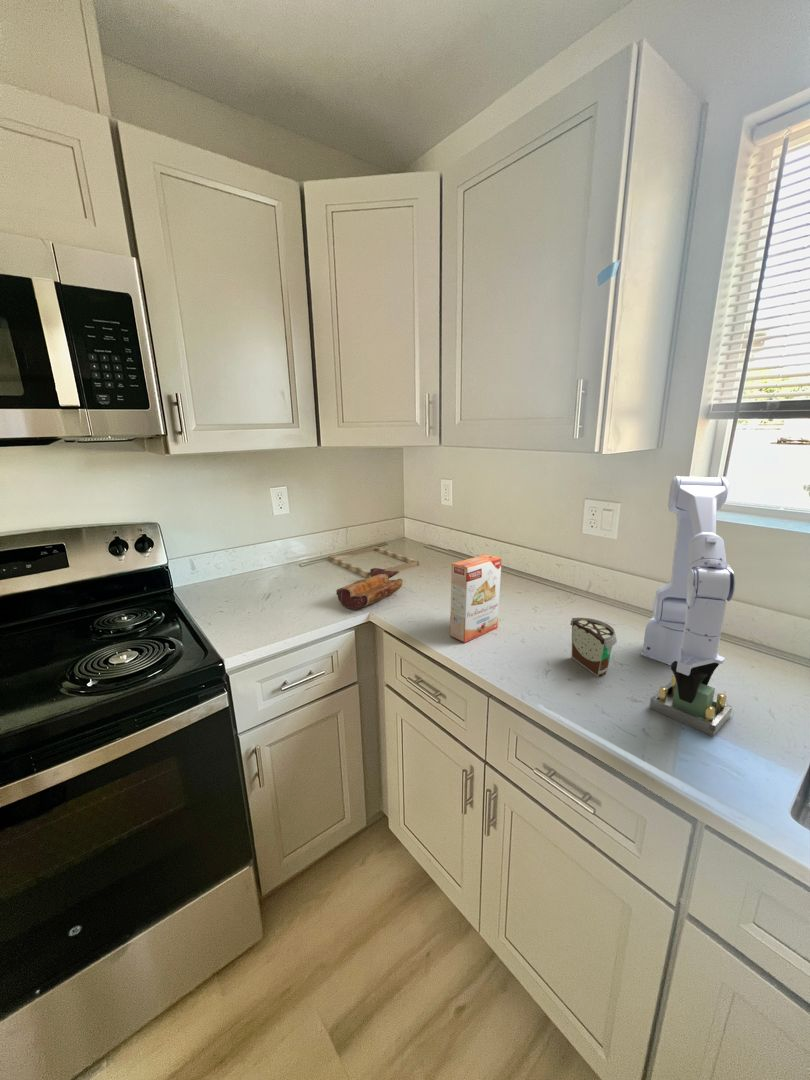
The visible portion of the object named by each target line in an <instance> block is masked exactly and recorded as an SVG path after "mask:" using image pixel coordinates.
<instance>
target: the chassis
mask: <svg viewBox="0 0 810 1080" xmlns="http://www.w3.org/2000/svg"><path fill="white" fill-rule="evenodd" d="M676 682H677V681H676V678H675V675H673V676H672V677H671V682H668V683H667V684H666V685H664V686H659V688H658V689H659V690H658V691H657V692H656V693H655V694H654V695H653V696H652V697H651V698H650V701H649V702H650V703H649V709H650V710H653V711H654V712H657V713H659V714H662V715H664V716H666V717H669V718H670V719H673V720H676V721H677V722H680V723H681V724H684V725H687V726H689V727H690V728H693V729H695V730H697V731H700V732H702V733H705V734H706V735H709V736H711V737H715V735H716V734H718V732H719V731H720V730H721V728H722V727H723V726H724V725H725V723H726V722H727V721H728V720H729V718H730V717H731V714H732V709H733V708H732V707H733V706H732V705H730V704H726V702H727V696H728V695H726V694H724V693H720V692H718V693H717V695H716V696H717V697H716V699H715V698H713V702H712V706H710V705H707V706H706V709H705V715H704V719H703V718H701V717H699V716H696V715H694V714H692V713H689V712H687V711H685V710H682V709H680V708H678V707H675V706H673V705H672V703H673V696H674V690H675V683H676Z"/></svg>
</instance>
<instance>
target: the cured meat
mask: <svg viewBox="0 0 810 1080" xmlns="http://www.w3.org/2000/svg"><path fill="white" fill-rule="evenodd" d="M385 569H386V568H377V567H372V568H370V570H369V572H370V576H371V577H369V578H366V577H365V578H363V579H360V580H357V581H356V582H353V583H351V584H348V585H345V586H342V587H340V588H339V587H338V588H337V589H336V595H337V599H338V602H339V603H340V604H341V605H342V606H343V607H344V608H347V609H350V610H353V611H355V610H359V609H362V608H365V607H367V606H370V605H373V604H374V603H378V602H379V601H381V600H383V599H385V598H387V597H390V596H392V595H393V594H394V593H396V592H397V591H398V590H400V589H401V588H402V587H403V579H402V578H398V579H391V578H392V577H394V576H396V575H398V574H399V573H400V571H385Z"/></svg>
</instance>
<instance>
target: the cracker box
mask: <svg viewBox="0 0 810 1080" xmlns="http://www.w3.org/2000/svg"><path fill="white" fill-rule="evenodd" d="M502 560H503V559H502V558H501V557H498V556H495V555H490V554H486V553H485V554H482V555H478V556H474V557H472V558H466V559H463V560H459V561H456V562H453V563H451V582H450V583H451V585H450V586H451V587H450V618H449V619H450V622H449V623H450V624H449V636H450V637H451V638H453V639H456V640H458V641H459V642H462V643H465V644H466V643H467V642H470V641H471V640H474V639H476V638H479V637H481V636H484V635H485V634H487V633H489V632H492V631H494V630H496V629H498V627H499V626H498V625H499V610H500V596H501V595H500V591H501V578H502V577H501V574H502Z"/></svg>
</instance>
